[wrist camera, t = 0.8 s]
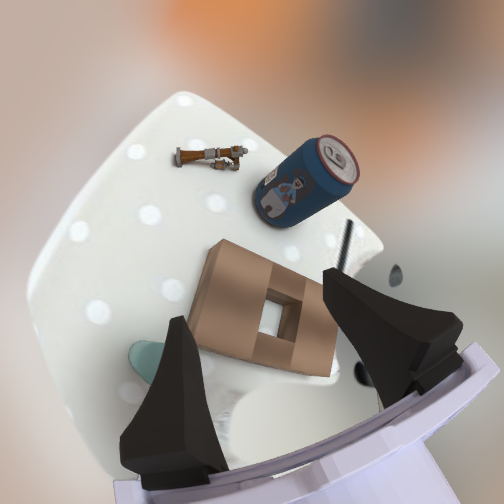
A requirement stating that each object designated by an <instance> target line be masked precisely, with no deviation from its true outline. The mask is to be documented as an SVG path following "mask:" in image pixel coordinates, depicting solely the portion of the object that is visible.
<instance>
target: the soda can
mask: <svg viewBox="0 0 504 504" xmlns="http://www.w3.org/2000/svg"><path fill="white" fill-rule="evenodd" d="M359 176H360V171H359V166H358V163H357V161H356V159H355V156H354V155H353V153H352V152H351V150H350V149H349V148H348V146H347V145H345V143H343V142H342V141H341V140H340V139H338V138H336V137H334V136H332V135H323V136H321V137H319V138H312V139H309V140H307V141H306V142H305V143H304V144H303V145H302V146H300V147H299V148H298V149H297V150H296V151H295V152H293V153H292V154H291V155H290V156H289V157H287V158H286V159H285V160H284V161H283V162H282V163H281V164H280V165H278V166H277V167H276V168H275V169H274V170H273V171H272V172H271V173H269V174H268V175H267V176H266V177H265V178H264V179H263V180H262V181H261V182H260V183H259V184H258V187H257V190H256V206H257V209H258V211H259V213H260V214H261V216H262V217H263V218H264V219H265V220H266V221H267V222H269V223H270V224H273V225H276V226H279V227H292V226H295V225H296V224H298V223H300V222H301V221H303V220H305V219H307V218H308V217H310V216H312V215H313V214H315V213H317V212H318V211H320V210H322V209H324V208H325V207H327V206H329V205H330V204H332V203H334V202H336V201H337V200H339V199H341V198H342V197H344V196H346V195H347V194H348V193H349V192H350V191H351V189H352V187H353V185H354V184H355V183H356V182H357V181H358V180H359Z"/></svg>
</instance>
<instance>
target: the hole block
mask: <svg viewBox="0 0 504 504" xmlns="http://www.w3.org/2000/svg"><path fill="white" fill-rule="evenodd" d="M265 299H267V300H270V301H272V302H275V303H278V304H280V305H283V311H282V316H281V321H280V326H279V330H278V335H277V337H274V336H270V335H267V334H264V333H261V332H258V329H259V324H260V320H261V316H262V311H263V307H264V302H265ZM187 325H188V327H189V329H190V331H191V333H192V335H193V337H194V339H195V341H196V345H197V347H198V348H202V349H205V350H208V351H211V352H215V353H218V354H222V355H225V356H229V357H232V358H236V359H240V360H243V361H247V362H251V363H255V364H259V365H263V366H267V367H271V368H276V369H280V370H285V371H289V372H294V373H299V374H304V375H309V376H321V377H330V373H331V367H332V362H333V356H334V350H335V344H336V337H337V331H338V324H337V323H336V321H335V320H334V319H333V317H332V316H331V314H330V312H329V311H328V309H327V307H326V305H325V303H324V301H323V285H322V284H319V283H317V282H315V281H313V280H311V279H309V278H307V277H304V276H302V275H300V274H298V273H296V272H294V271H292V270H289V269H287V268H285V267H283V266H281V265H279V264H277V263H274V262H272V261H270V260H268V259H266V258H264V257H262V256H260V255H257V254H255V253H253V252H251V251H249V250H247V249H245V248H242V247H240V246H238V245H236V244H234V243H232V242H230V241H227V240H225V239H222V240H221V241H219V242H218V243H217V244H216V245H214V246H213V247H212V248H211V249H210V250H209V253H208V256H207V259H206V262H205V266H204V269H203V272H202V275H201V278H200V281H199V285H198V288H197V291H196V294H195V298H194V301H193V304H192V308H191V311H190V314H189V318H188V321H187Z"/></svg>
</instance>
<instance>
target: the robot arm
mask: <svg viewBox="0 0 504 504" xmlns="http://www.w3.org/2000/svg"><path fill="white" fill-rule="evenodd" d="M323 301H324V303H325V305H326V307H327V309H328V311H329V312H330V314H331V316H332V317H333V319H334V320H335V321H336V323H337V324H338V326H339V327H340V328H341V330H342V331H343V332H344V334H345V335H346V336H347V338H348V339H349V341H350V342H351V343H352V345H353V346H354V348H355V349H356V351H357V352H358V354H359V356H360V358H361V360H362V362H363V363H364V365H365V367H366V369H367V371H368V373H369V375H370V377H371V379H372V381H373V384H374V386H375V388H376V390H377V392H378V395H379V397H380V400H381V402H382V405H383V407H384V410H383V411H381V412H379V413H378V414H376V415H374V416H372V417H370V418H369V419H367V420H365V421H363V422H361V423H359V424H357V425H355V426H353V427H351V428H349V429H347V430H344V431H343V432H340V433H338V434H336V435H334V436H331V437H329V438H327V439H325V440H322V441H320V442H317V443H315V444H312V445H310V446H308V447H305V448H302V449H299V450H297V451H294V452H291V453H288V454H286V455H283V456H280V457H277V458H273V459H270V460H267V461H264V462H260V463H257V464H253V465H250V466H246V467H242V468H238V469H234V470H229V468H228V465H227V463H226V460H225V458H224V455H223V452H222V450H221V447H220V444H219V441H218V438H217V435H216V432H215V429H214V426H213V423H212V419H211V416H210V412H209V409H208V405H207V401H206V395H205V389H204V382H203V376H202V369H201V362H200V357H199V353H198V349H197V345H196V341H195V339H194V337H193V335H192V333H191V331H190V329H189V327H188V325H187V323H186V321H185V318H184V316H183V315H182V316H178V317H175V318H171V320H170V322H169V328H168V333H167V337H166V341H165V345H164V349H163V353H162V356H161V359H160V362H159V365H158V368H157V371H156V374H155V377H154V379H153V382H152V384H151V386H150V389H149V391H148V393H147V395H146V397H145V399H144V401H143V403H142V405H141V406H140V408H139V410H138V411H137V413H136V415H135V416H134V418H133V420H132V421H131V423H130V424H129V425H128V427H127V428H126V430H125V431H124V432H123V434H122V435H121V436H120V447H119V449H120V461H121V464H122V466H123V467H125V468H127V469H129V470H131V471H133V472H135V473H137V474H139V475H138V480H114V481H113V486H114V494H115V501H116V504H460V502H459V500H458V499H457V497H456V495H455V494H454V492H453V490H452V488H451V487H450V485H449V483H448V482H447V480H446V478H445V477H444V475H443V474H442V472H441V470H440V469H439V467H438V465H437V464H436V462H435V460H434V459H433V457H432V455H431V454H430V452H429V451H428V449H427V448H426V446H425V444H424V443H423V441H425V440H426V439H427V438H429V437H430V436H431V435H433V434H434V433H435V432H437V431H438V430H439V429H440V428H442V427H443V426H444V425H445V424H447V423H448V422H449V421H450V420H452V419H453V418H454V417H455V416H456V415H457V414H459V413H460V412H461V411H462V410H463V409H464V408H465V407H466V406H467V405H469V404H470V403H471V402H472V401H473V400H474V399H475V398H476V397H477V396H478V395H479V394H480V393H481V392H482V391H483V390H484V389H485V388H486V386H488V384H489V383H490V382H491V381H492V380H493V379H494V377H495V376H496V375H497V374H498V373H499V371H500V369H499V368H498V367H497V365H496V364H495V363H494V362H493V361H492V360H491V358H490V357H489V356H488V355H487V354H486V352H485V351H484V350H483V349H482V348H481V347H480V346H479V345H478V343H477V342H476V341H474V342H473V343H471V344H470V345H469V346H468V347H467V348H466V349H464V350H463V351H462V352H461V353H460V355H459V354H458V353H457V352H456V351H457V350H458V348H457V346H456V345H455V342H456V341H457V339H458V337H459V335H460V333H461V331H462V329H463V323H462V322H461V321H460V319H459V318H457V316H456V315H455V314H454V313H452V312H445V311H437V310H432V309H427V308H422V307H418V306H414V305H411V304H408V303H405V302H402V301H399V300H396V299H394V298H391V297H389V296H386V295H384V294H382V293H380V292H378V291H376V290H373V289H372V288H369V287H367V286H366V285H364V284H362V283H360V282H358V281H357V280H355V279H353V278H351V277H350V276H348V275H346V274H344V273H343V272H341V271H339V270H337V269H336V268H334V267H333V268H330V269H327V270H324V271H323ZM317 459H318V460H317ZM315 460H316V461H315ZM312 461H314V462H313V463H311V464H310V465H308V466H305V467H303V468H301V469H298V470H296V471H293V472H291V473H288V474H286V475H283V476H281V477H278V478H275V479H274V478H273V477H269V476H272V475H276V474H279V473H282V472H285V471H288V470H291V469H294V468H296V467H299V466H302V465H304V464H307V463H309V462H312Z"/></svg>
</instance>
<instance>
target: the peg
mask: <svg viewBox="0 0 504 504" xmlns="http://www.w3.org/2000/svg"><path fill="white" fill-rule="evenodd" d="M164 345H165V343H158V342H150V341H139V342H136V343H135V344H133V345H132V347H131V348H130V350H129V361H130V364H131V365H132V366H133V368H134V369H135V370H136V371H137V372H138V373H139V374H140V376H141V377H142V378H143V379H144V380H145V381H146V382H147V383H149V384H150V385H151V384H152V382H153V379H154V377H155V374H156V371H157V368H158V365H159V362H160V359H161V356H162V353H163V349H164Z"/></svg>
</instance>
